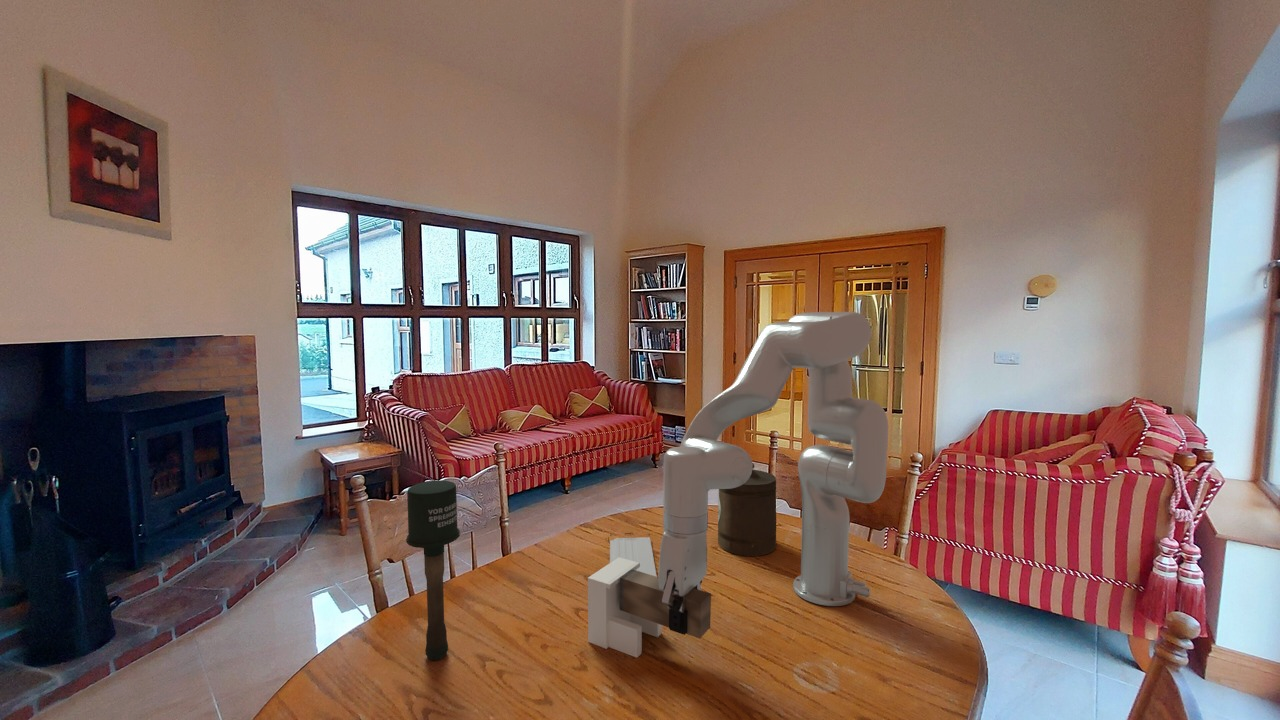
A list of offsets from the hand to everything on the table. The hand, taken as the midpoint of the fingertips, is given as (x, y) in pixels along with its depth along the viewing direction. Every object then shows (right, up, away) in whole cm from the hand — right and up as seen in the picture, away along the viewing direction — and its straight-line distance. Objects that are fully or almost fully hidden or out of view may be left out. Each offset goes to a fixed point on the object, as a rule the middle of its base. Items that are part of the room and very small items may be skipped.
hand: (684, 623), depth 93 cm
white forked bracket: (-10, -6, +7) cm, 13 cm away
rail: (-3, 0, +2) cm, 4 cm away
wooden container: (+20, -3, +48) cm, 52 cm away
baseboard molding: (-10, -4, +35) cm, 37 cm away
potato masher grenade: (-43, -6, +1) cm, 43 cm away
